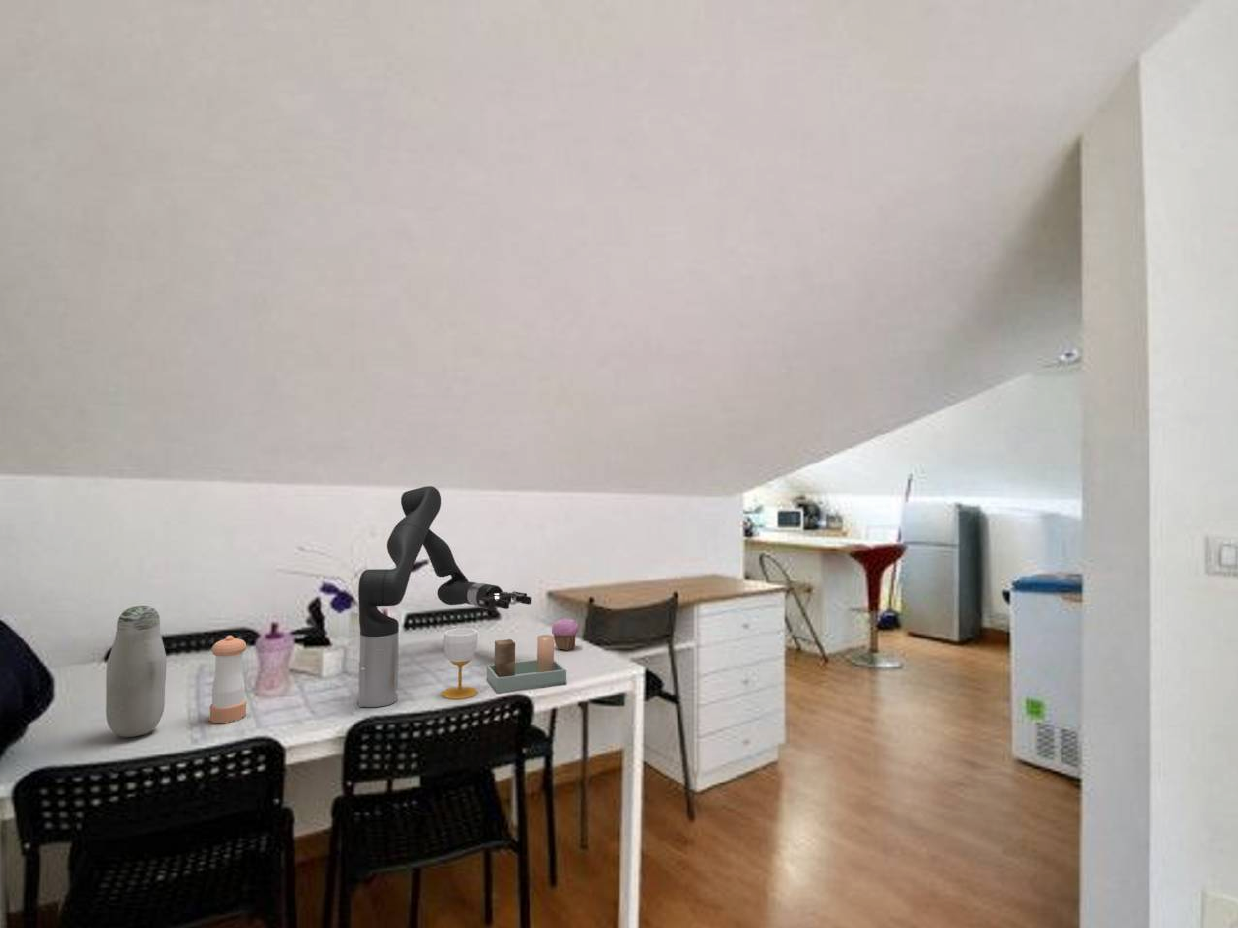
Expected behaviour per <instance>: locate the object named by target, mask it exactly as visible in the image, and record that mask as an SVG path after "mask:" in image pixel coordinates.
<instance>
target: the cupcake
mask: <svg viewBox="0 0 1238 928" xmlns="http://www.w3.org/2000/svg"><path fill="white" fill-rule="evenodd" d="M579 631H580V627H579V625H578V623H577V622H576V621H575V620H574V619H572V618H571V619H570V618H563V619H558V620H557V621H555V622H554V624H553V626H552V629H551V634H552V636H554V637H555V638H554V644H555V645H556V647H557V649H559V650H564V651H569V650H572V649H574V648H575V646H576V637H577V634H578V633H579Z"/></svg>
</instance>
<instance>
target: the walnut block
mask: <svg viewBox="0 0 1238 928" xmlns="http://www.w3.org/2000/svg"><path fill="white" fill-rule="evenodd" d="M515 662H516V642H515V641H514V640H513V639H512V638H508V639H498V640H494V665H495V673H496V675H497V676H498V677H506V676H514V675H515Z"/></svg>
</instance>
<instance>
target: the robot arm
mask: <svg viewBox="0 0 1238 928" xmlns="http://www.w3.org/2000/svg"><path fill="white" fill-rule="evenodd" d="M441 496H442V495H441V493H440V491H439V490H438V488H436V487H435V486H430V485H429V486H427V485H426V486H423V487H417V488H415V489H411V490H410V489H409V490H407V491H405V492H403V493H402V495H401V500H400V503H401V510H402V511H403V513H404V515H405V516H404V517H403V519H401V520H400V521H399V522H397V524H396V525H395V526H394V527H393V529H392V530H391V532H390V535H389V537H388V539H387V541H386V542H387V543H386V550H387V553H388V555H389V557H390V559H391V561H392V562H393V563H394V565H395V567H394V568H392V569H383V568H382V569H380V568H379V569H377V568H375V569H374V568H373V569H366V570H364V571H362V573H361V574H360V576H359V581H358V585H357V586H358V587H357V596H358V624H359V662H358V694H357V695H358V699H357V700H358V707H359V708H364V707H365V708H366V707H367V708H378V707H385V706H388V705H392V704H395V702H397V701H398V696H399V639H400V638H399V632H400V631H399V630H400V629H399V628H400V625H399V621H398V620H397V619H396V618H394V617H392V616H388V615H387V614H385V613H383V612H382V611H380V610H379V609H378V607H395V606H398V605H400V604H401V603H402V601H403V599H404V597H405V595H406V591H407V588H408V585H409V581H410V578H411V574H412V571H413V568H414V565H415V563H416V560H417V559H418V556H419V554H420V551H421V550H422V547H423V549H425V552H426V554H427V556H428V559H429V561H430V563H431V566H432V568H433V572H434V573H435V575H436V576H437V578H446V577H449V576H450V577H451V578H450V579H449V580H447V581H445V582H444V583H442V584H441V585H440V586H439V588H438V589H437V597H438V599H439V601H441V602H442V603H443V604H444V605H448V606H458V605H466V604H467V605H470V606H474V607H476V608H480V609H483V610H484V609H485V610H489V611H495V610H497V609H499V608H500V609H505V610H507V609H508V610H509V608H510V605H512V606H514V605H516V604H523V605H532V597H531V596H528V593H526V592H519V591H512V592H508V591H504V590H503V589H502V588H501V587H500V586H499V585H496V584H491V583H487V582H486V583H485V582H475V581H469V580H468V577H466V575H465V574H464V573H463V572H462V570H461V569H460V568H459V566H458V565H457V563H456V561H455V557H454V555H453V552H452V550H451V548H450V547H449V545H448V543H447V542H446V541H444V540H443V539H442V538H441V537H440V536H439V535H437V534H436V533H435V532H433V531H432V530H431V529H430V528H431V526H432V524H433V522H434V521H435V519H436V517H437V516H438V515H439V512H440V510H441V506H442V497H441Z"/></svg>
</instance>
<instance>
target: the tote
mask: <svg viewBox="0 0 1238 928" xmlns="http://www.w3.org/2000/svg"><path fill="white" fill-rule="evenodd" d="M486 681H487V683H488V684H489V685H490V687H491V688H492V690H493V691H494V692H495V693H496V695H498V694H503V693H504V694H505V693H510V692H511V693H512V692H519V691H520V692H521V691H527V690H535V689H542V688H548V687H557V686H561V685H562V686H565V685H566V684H567V670H566V668H565V667H563V665H562V664H560V663H559V662H557V661H556V660H555V659H554V671H547V672H539V673H537V659H532V660H526V661H525V660H522V661H517V662H516V661H515V675H514V676H506V677H498V676H497V675H496V673H495V664H491V665H490V664H489V665H486Z"/></svg>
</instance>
